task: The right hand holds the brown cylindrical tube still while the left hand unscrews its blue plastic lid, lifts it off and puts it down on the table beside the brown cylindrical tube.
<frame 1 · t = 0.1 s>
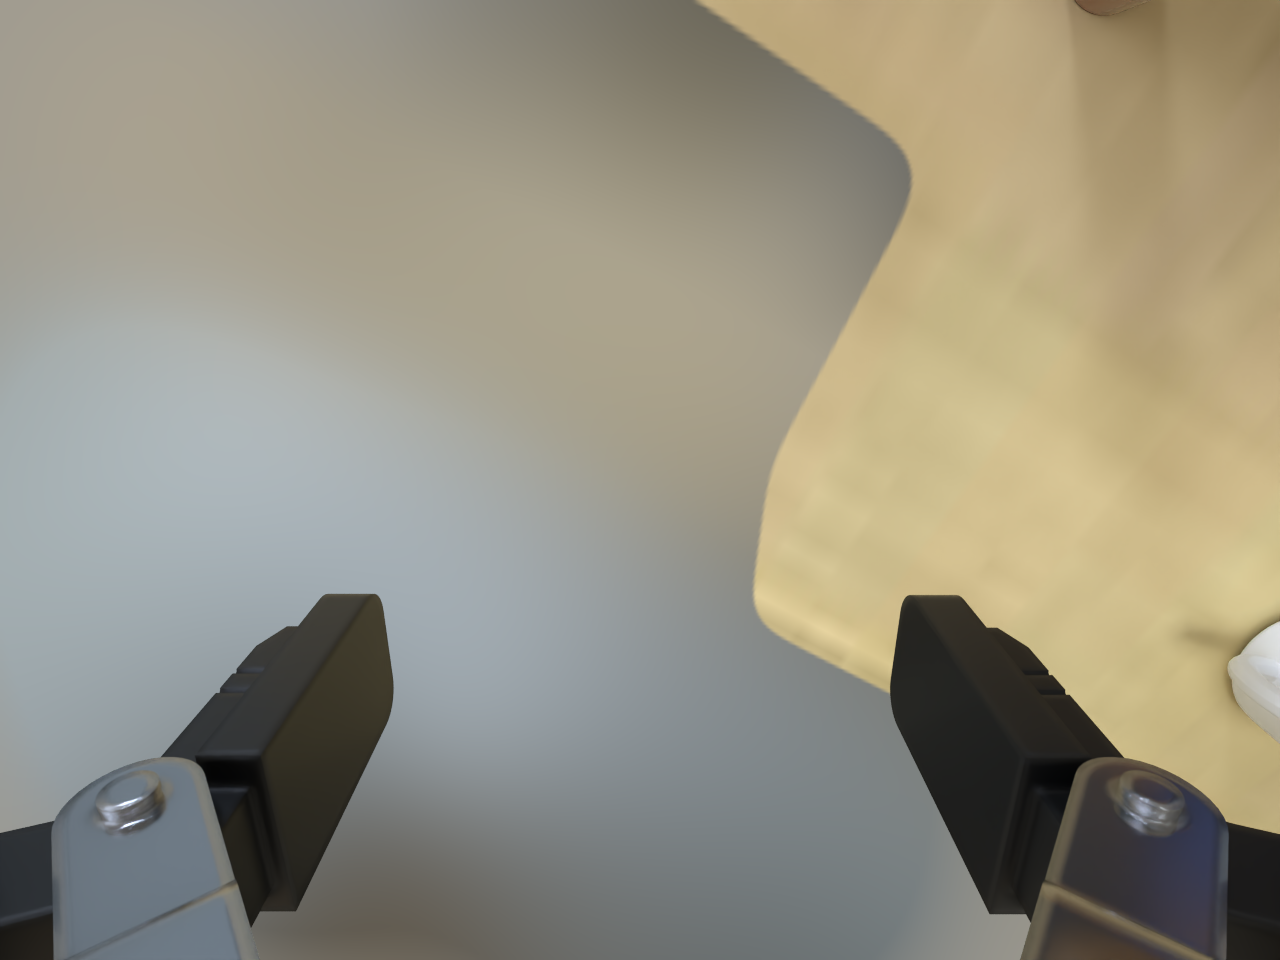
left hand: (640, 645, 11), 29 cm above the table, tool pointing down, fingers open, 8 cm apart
mug: (1265, 655, 46), on the table
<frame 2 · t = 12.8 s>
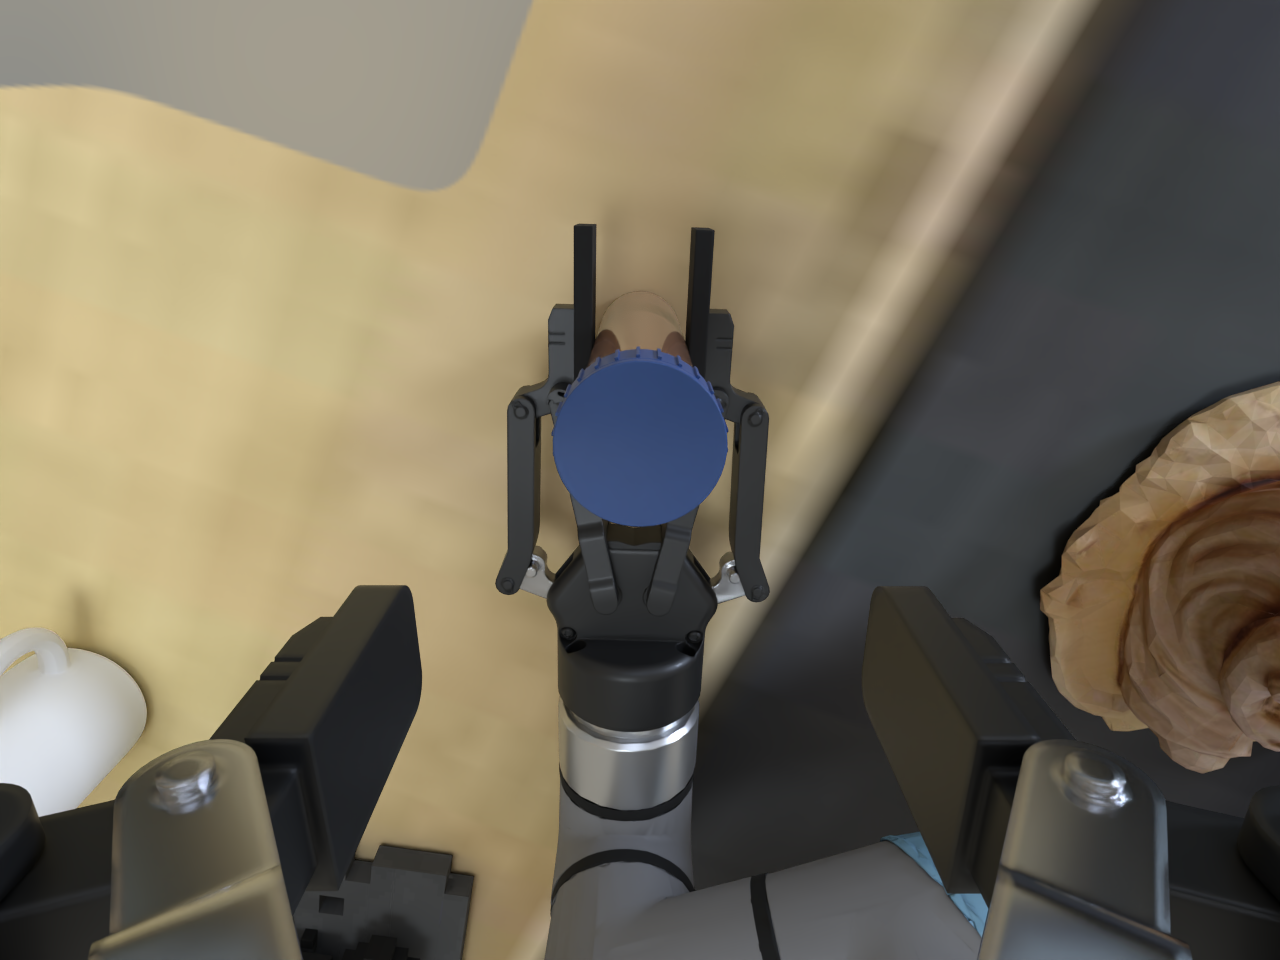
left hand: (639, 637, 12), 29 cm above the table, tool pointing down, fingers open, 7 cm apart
right hand: (643, 228, 31), fingers closed on brown cylindrical tube, 4 cm apart
abstract sculpture: (326, 946, 55), on the table
mug: (86, 672, 46), on the table
lid: (640, 443, 21), point 19 cm above the table, screwed on, not yet turned
brown cylindrical tube: (640, 331, 39), on the table, touching right hand
sculpture: (1269, 575, 44), on the table
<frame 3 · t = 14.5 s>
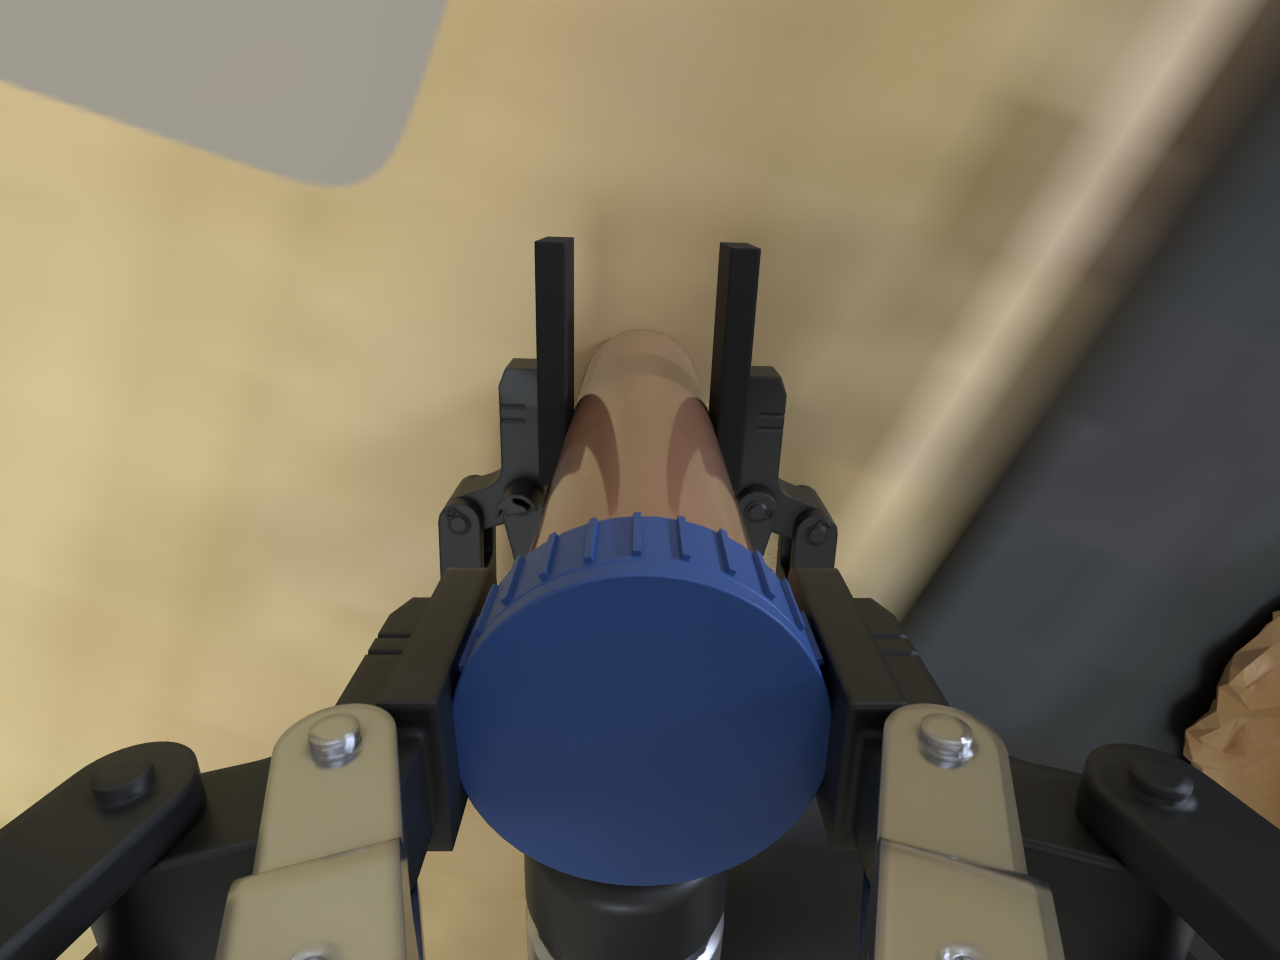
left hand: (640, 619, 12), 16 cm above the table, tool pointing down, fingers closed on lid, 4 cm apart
lid: (641, 726, 10), point 19 cm above the table, screwed on, not yet turned, touching left hand
brown cylindrical tube: (640, 385, 27), on the table, touching right hand
when the left hand's fingers open (17 cm above the table, at t = 16.1 s): lid stays where it is, point 19 cm above the table.
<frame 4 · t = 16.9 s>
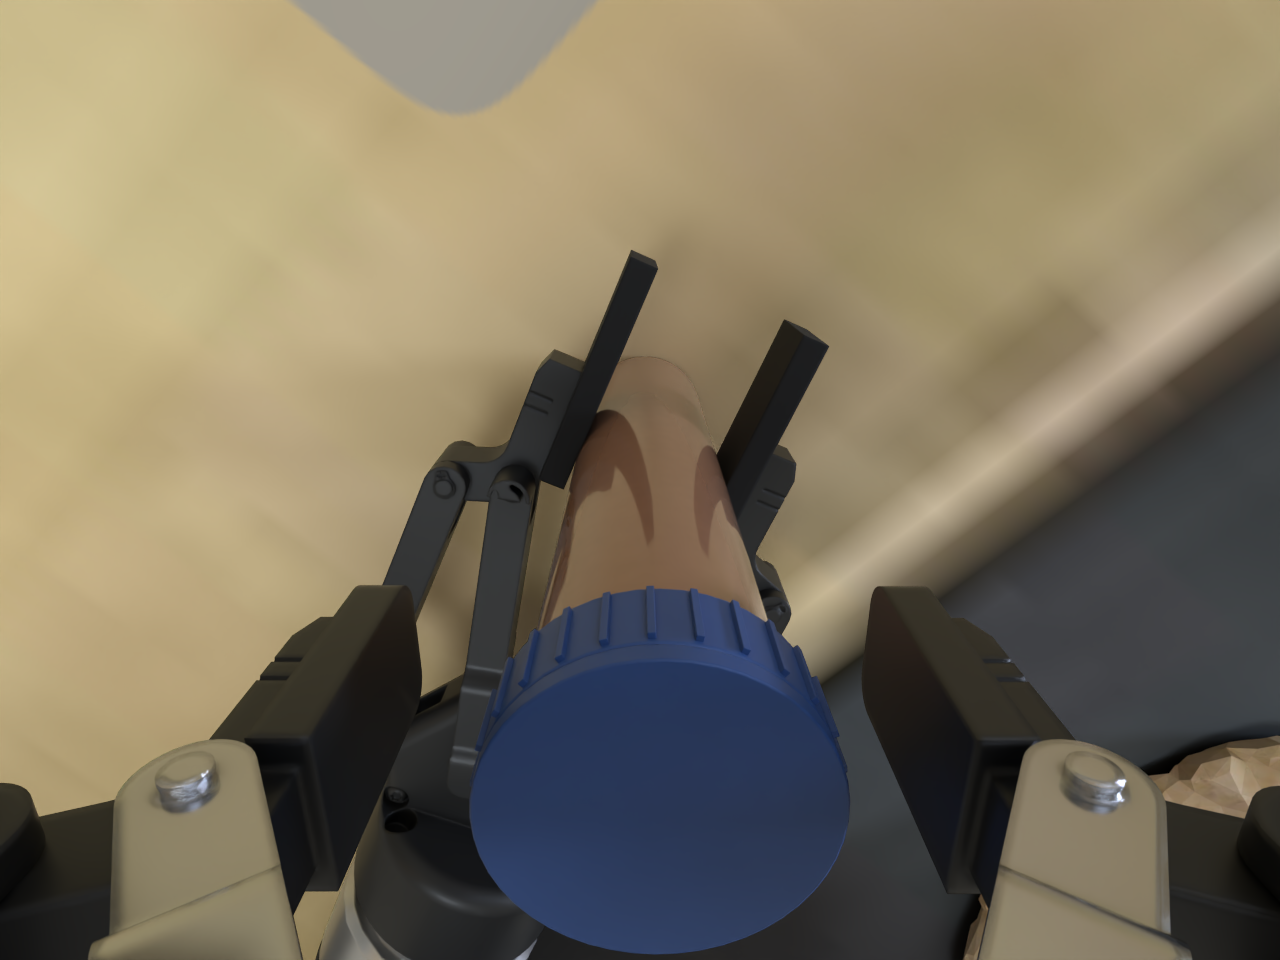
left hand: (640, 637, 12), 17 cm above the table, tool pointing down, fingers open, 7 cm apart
right hand: (725, 297, 20), fingers closed on brown cylindrical tube, 4 cm apart
lid: (659, 800, 10), point 19 cm above the table, turned 78° so far, risen 0.2 cm, still on its thread
brown cylindrical tube: (644, 411, 28), on the table, touching right hand
sculpture: (1220, 928, 37), on the table
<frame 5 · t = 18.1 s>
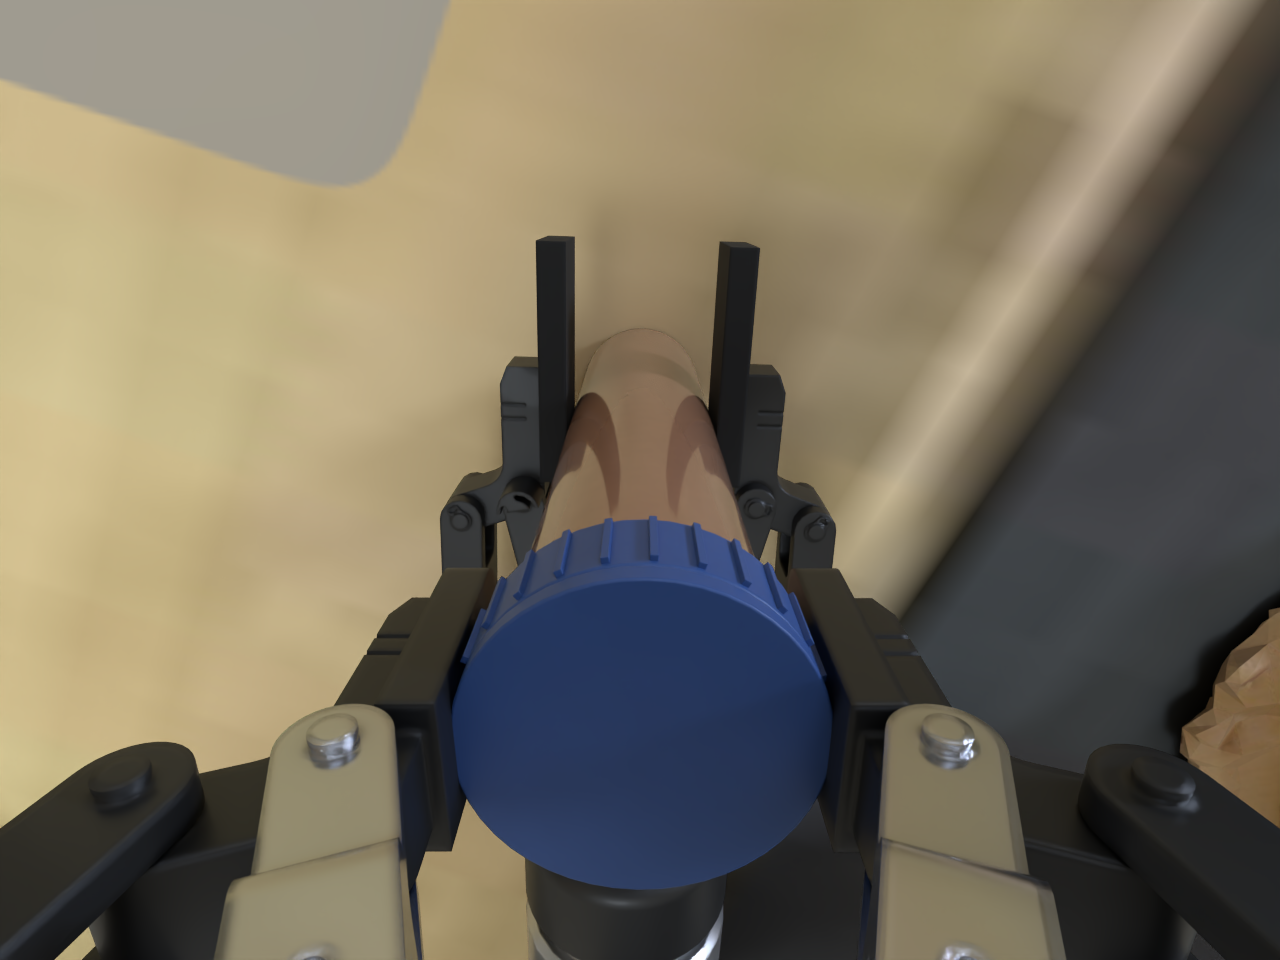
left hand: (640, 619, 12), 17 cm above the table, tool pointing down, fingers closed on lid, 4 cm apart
lid: (641, 730, 10), point 19 cm above the table, turned 78° so far, risen 0.2 cm, still on its thread, touching left hand
brown cylindrical tube: (641, 384, 28), on the table, touching right hand
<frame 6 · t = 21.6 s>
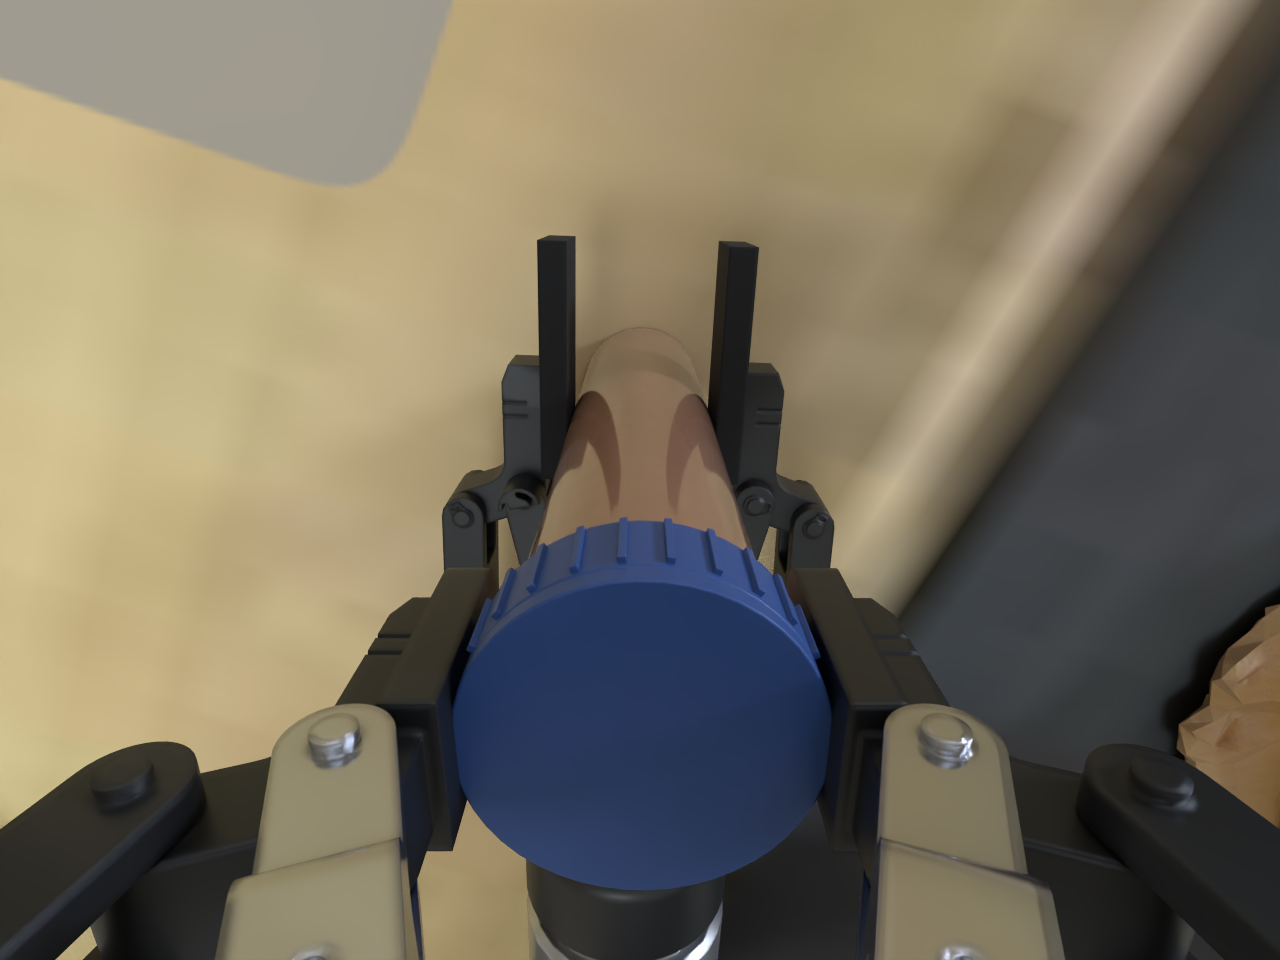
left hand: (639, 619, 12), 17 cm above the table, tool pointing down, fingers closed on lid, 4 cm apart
lid: (641, 731, 10), point 19 cm above the table, turned 157° so far, risen 0.4 cm, still on its thread, touching left hand
brown cylindrical tube: (641, 383, 28), on the table, touching right hand
when the left hand's fingers open (0 cm above the table, at t = 28.5 s): lid drops 2 cm, point 1 cm above the table.
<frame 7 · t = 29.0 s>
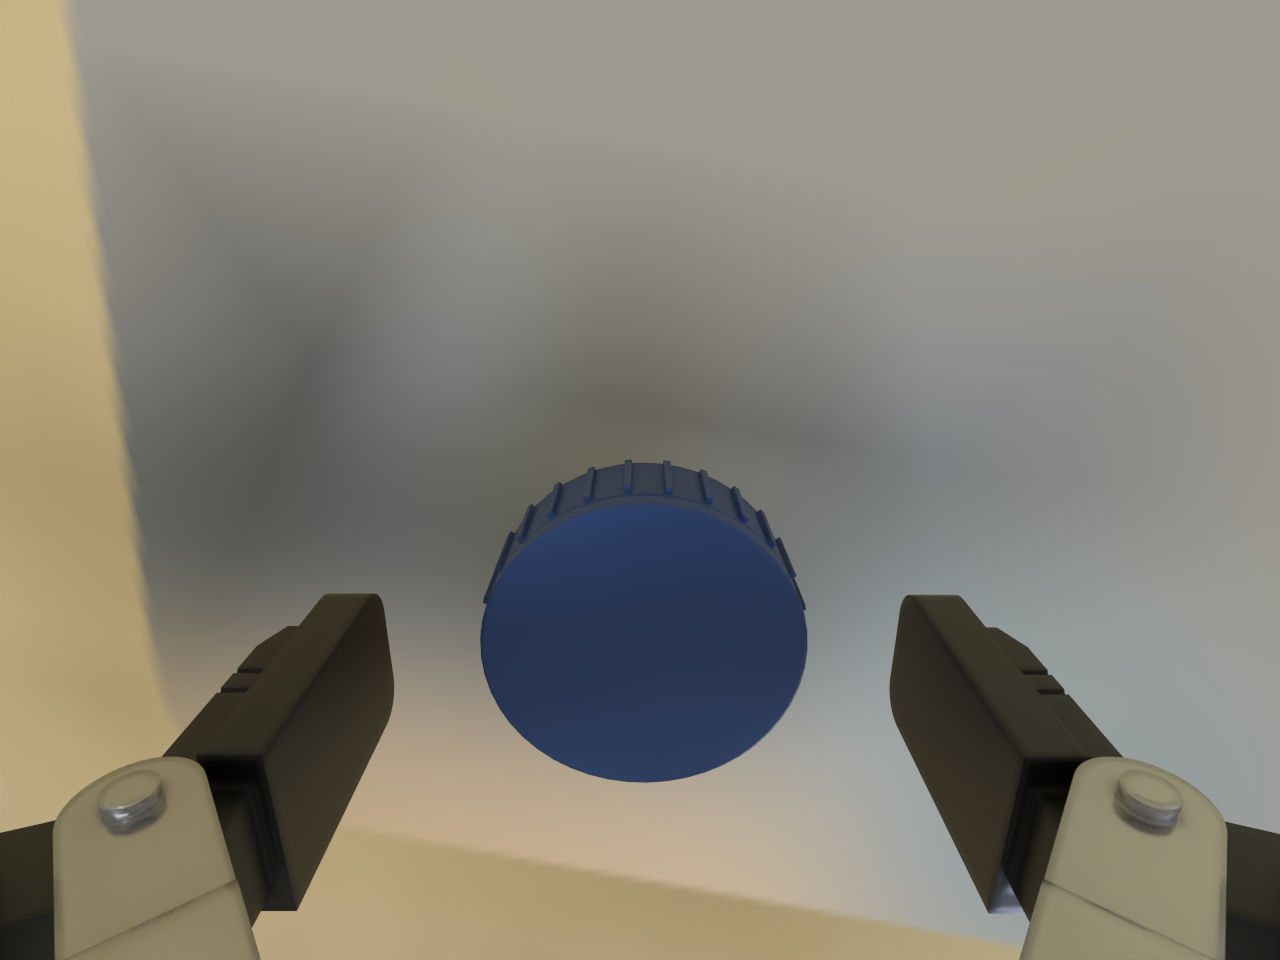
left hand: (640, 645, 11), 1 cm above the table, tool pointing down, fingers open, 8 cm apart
lid: (643, 641, 11), point 1 cm above the table, off its thread
when the right hand's fingers open (6 cm above the table, at t = 29.4 s): brown cylindrical tube stays where it is, on the table.
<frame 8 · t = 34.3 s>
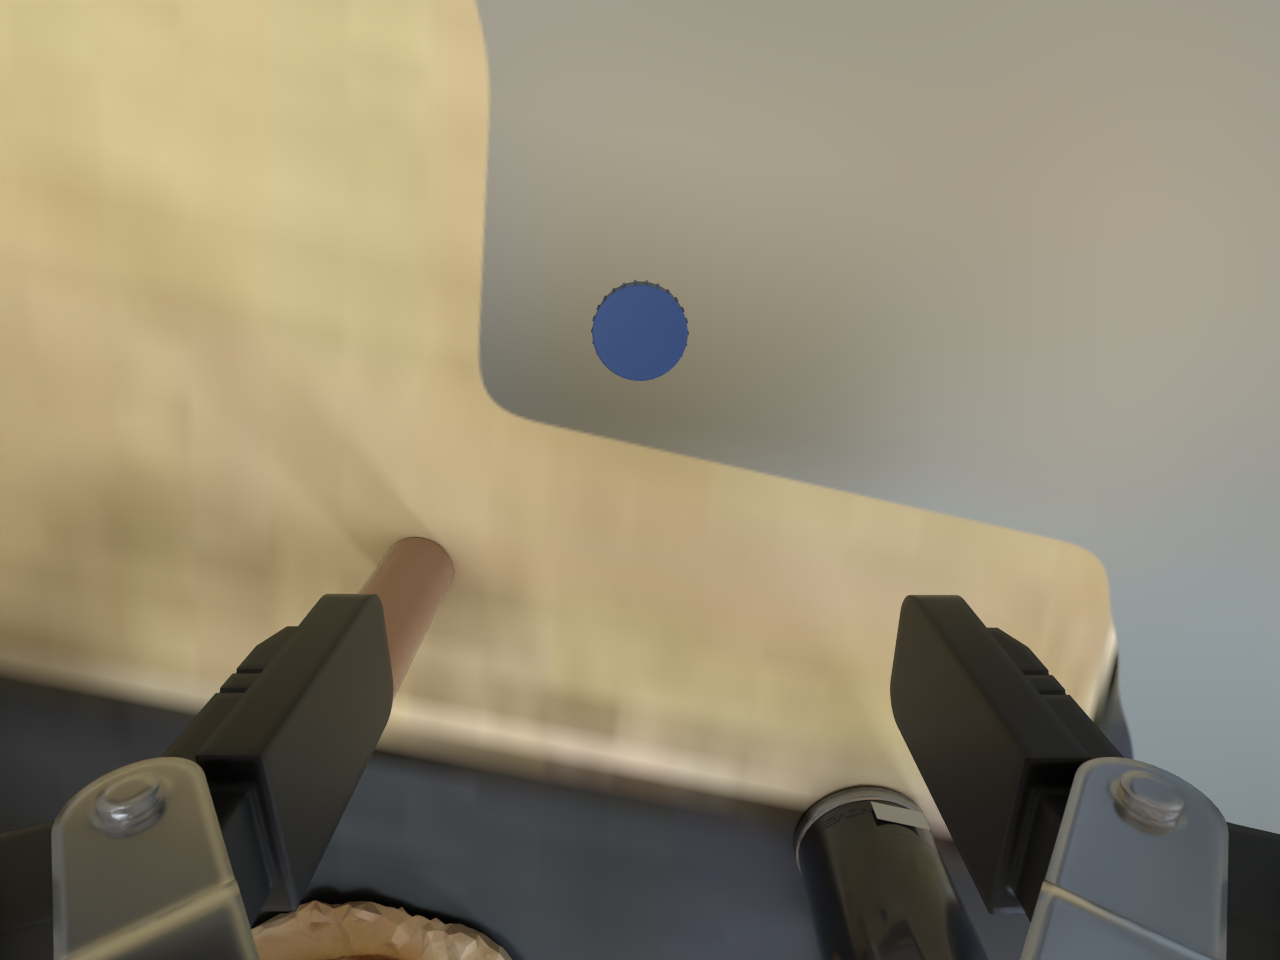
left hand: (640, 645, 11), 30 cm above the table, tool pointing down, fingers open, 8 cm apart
lid: (640, 332, 38), point 1 cm above the table, off its thread
brown cylindrical tube: (419, 568, 44), on the table
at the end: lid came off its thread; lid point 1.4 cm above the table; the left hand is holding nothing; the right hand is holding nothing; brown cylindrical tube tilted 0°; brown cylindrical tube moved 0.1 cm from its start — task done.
